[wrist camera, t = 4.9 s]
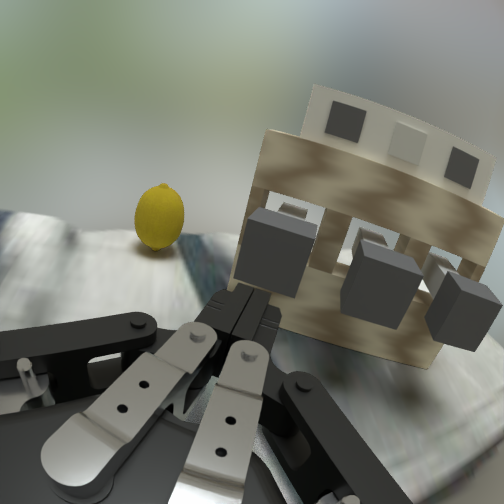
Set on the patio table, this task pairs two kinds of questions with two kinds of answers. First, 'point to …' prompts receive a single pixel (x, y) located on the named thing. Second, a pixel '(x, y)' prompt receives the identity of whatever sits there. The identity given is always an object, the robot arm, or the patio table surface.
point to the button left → (276, 249)
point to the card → (397, 142)
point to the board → (374, 211)
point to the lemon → (159, 217)
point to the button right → (457, 305)
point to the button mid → (378, 281)
